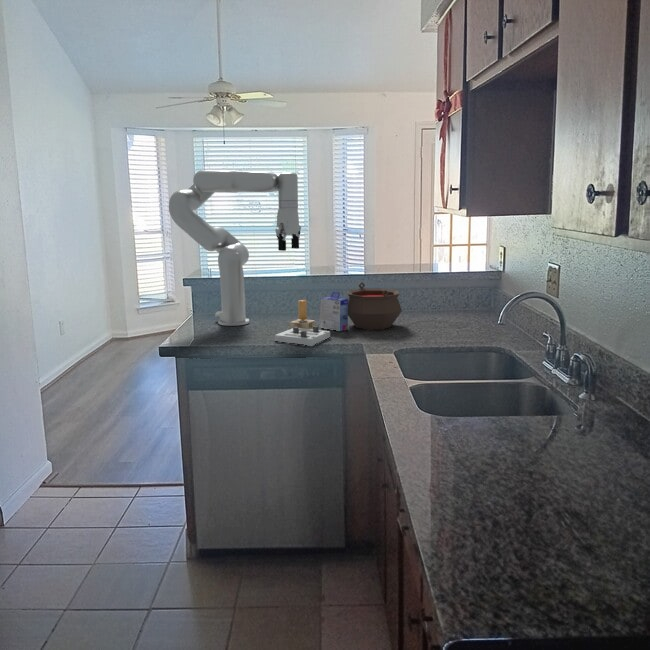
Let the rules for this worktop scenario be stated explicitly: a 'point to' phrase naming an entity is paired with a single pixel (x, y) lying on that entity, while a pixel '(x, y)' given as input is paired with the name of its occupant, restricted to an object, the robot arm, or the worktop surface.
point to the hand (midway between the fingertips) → (288, 249)
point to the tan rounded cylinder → (302, 310)
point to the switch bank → (294, 338)
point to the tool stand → (303, 324)
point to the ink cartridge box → (334, 313)
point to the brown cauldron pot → (373, 307)
